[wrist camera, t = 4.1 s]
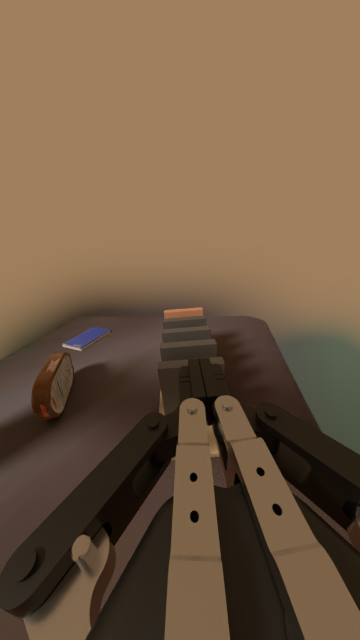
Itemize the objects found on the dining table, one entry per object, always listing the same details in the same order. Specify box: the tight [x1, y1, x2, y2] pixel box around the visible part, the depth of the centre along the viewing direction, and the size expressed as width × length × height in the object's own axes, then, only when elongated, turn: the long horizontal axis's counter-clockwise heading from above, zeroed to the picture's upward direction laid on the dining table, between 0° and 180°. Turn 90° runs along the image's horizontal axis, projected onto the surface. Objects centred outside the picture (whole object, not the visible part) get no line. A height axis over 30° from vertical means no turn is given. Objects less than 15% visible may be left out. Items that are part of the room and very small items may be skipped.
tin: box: [32, 352, 74, 421], centre depth 37 cm, size 15×3×8 cm, turn 16°
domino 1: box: [164, 307, 203, 319], centre depth 46 cm, size 2×9×12 cm, turn 92°
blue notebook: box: [62, 327, 111, 351], centre depth 61 cm, size 2×8×12 cm
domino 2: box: [163, 315, 206, 329], centre depth 41 cm, size 2×9×12 cm, turn 92°
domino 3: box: [162, 326, 211, 343], centre depth 37 cm, size 2×9×12 cm, turn 93°
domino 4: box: [160, 339, 217, 361], centre depth 32 cm, size 2×9×12 cm, turn 92°
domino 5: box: [158, 357, 225, 426], centre depth 28 cm, size 2×9×12 cm, turn 92°
